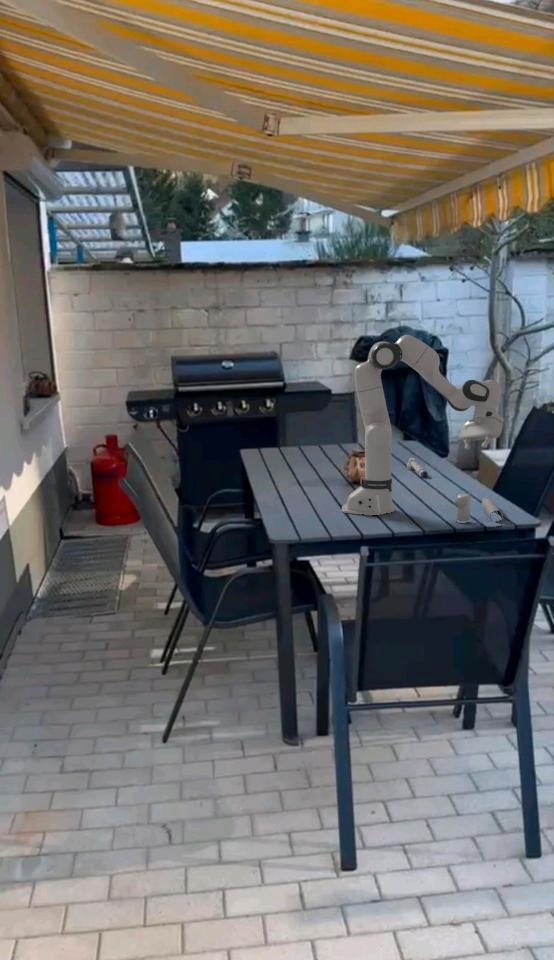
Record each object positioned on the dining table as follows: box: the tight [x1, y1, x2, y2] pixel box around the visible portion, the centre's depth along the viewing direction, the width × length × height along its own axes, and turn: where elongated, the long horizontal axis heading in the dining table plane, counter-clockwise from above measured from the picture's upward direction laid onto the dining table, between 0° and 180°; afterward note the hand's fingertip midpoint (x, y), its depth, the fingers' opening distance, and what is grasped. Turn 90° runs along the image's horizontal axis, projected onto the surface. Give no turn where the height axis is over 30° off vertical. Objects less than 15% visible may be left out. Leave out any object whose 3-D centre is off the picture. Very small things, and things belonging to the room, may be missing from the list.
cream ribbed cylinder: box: [406, 457, 429, 479], centre depth 409 cm, size 5×7×25 cm
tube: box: [481, 497, 504, 520], centre depth 328 cm, size 5×5×25 cm
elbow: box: [454, 493, 472, 521], centre depth 314 cm, size 8×6×11 cm
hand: (475, 448), depth 319 cm, fingers open, 8 cm apart
